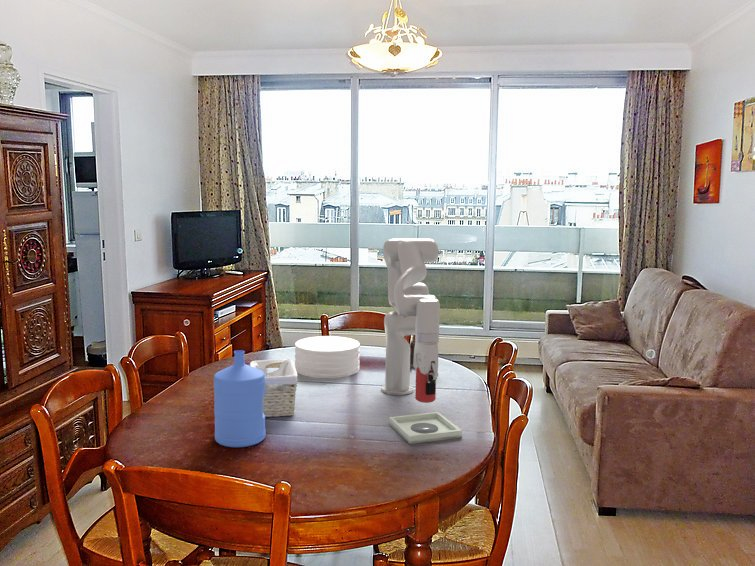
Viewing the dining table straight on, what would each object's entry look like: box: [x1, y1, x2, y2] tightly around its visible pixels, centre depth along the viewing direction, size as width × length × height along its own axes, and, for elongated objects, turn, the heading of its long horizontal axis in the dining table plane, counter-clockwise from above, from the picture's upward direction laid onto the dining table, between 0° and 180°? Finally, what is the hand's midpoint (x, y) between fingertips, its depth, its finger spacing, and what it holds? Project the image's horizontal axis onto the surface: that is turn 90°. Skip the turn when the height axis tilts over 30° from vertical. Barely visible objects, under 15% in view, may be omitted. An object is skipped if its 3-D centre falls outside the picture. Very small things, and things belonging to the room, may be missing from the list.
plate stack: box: [294, 335, 361, 379], centre depth 281 cm, size 28×28×12 cm
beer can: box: [414, 365, 437, 404], centre depth 210 cm, size 7×7×12 cm
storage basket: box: [249, 358, 298, 418], centre depth 231 cm, size 24×16×15 cm
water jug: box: [213, 349, 267, 448], centre depth 201 cm, size 16×16×28 cm
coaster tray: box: [388, 411, 463, 445], centre depth 212 cm, size 18×18×2 cm
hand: (425, 390), depth 210 cm, fingers closed on beer can, 6 cm apart
